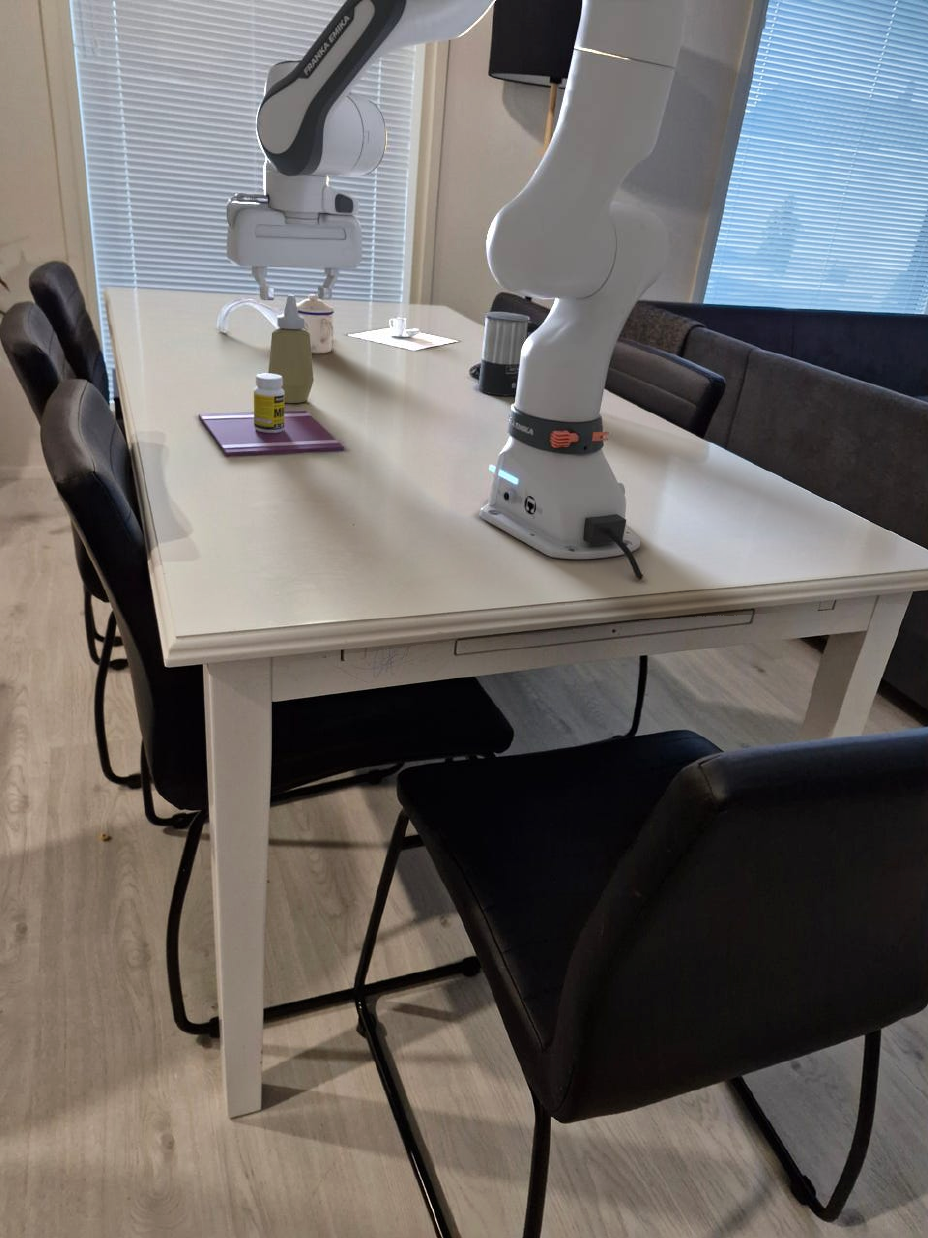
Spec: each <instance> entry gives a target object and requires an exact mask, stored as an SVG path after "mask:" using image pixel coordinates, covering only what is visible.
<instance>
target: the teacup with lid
mask: <svg viewBox="0 0 928 1238" xmlns="http://www.w3.org/2000/svg"><path fill="white" fill-rule="evenodd" d="M296 305H297V310H298V315H299V316H301V317H304V318H305V327H304V328H303V329H305V330H306V331H308V332H309V333H310V342H311V354H327V353H330V352H331V351H332V349H333V337H334V326H333V322H334V321H333V319H334V317H333V315H334V313H335V311H334V307H332V306H330V305H328V304H326V303H324V301H323V300H321V299H319V298H318V294H314V293H310V294H308V297H307V298H306V299H303V300H302V301H300V302H296Z"/></svg>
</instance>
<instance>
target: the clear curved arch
mask: <svg viewBox="0 0 928 1238" xmlns="http://www.w3.org/2000/svg"><path fill="white" fill-rule="evenodd" d="M243 306H249V307H252V308H255V309H256V310H258V311H259V312H260V313H261V314H262V315H263V316H264V317H265V318H266V319H267V320H268V322H270V324H272V325H273V326H274V327H275V328H278V327H279V326H277V317H278V316H279V315H284V310H285V309H281V308H276V307H272V306H270V305H267V304H265V303H263V302H260V301H257V300H255V299H252V298H237V299H234V300H231V301H229V302H228V303H227V304H225V305H224V306H223V308H222V309H221V311H220V312H219V314H218V318H217V324H216V326H217V329H218V330H220V331H222V332H227V331H228V321H229V317H230V315H231V313H232V312H233V311H234V310H236V309H237V308H239V307H243Z"/></svg>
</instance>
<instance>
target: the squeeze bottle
mask: <svg viewBox="0 0 928 1238" xmlns="http://www.w3.org/2000/svg"><path fill="white" fill-rule="evenodd" d="M296 303H297V300H296V295H295V294H292V293H287V296H286V301H285V305H284V309H283V310H284V315H279V316H278V317H277V326H279V327H278V328H276V327H275V328H274V329H272V331H271V339H270V340H271V341H270V352H269V363H268V374H277V375H280V376H282V383H283V384H282V387H281V388H282V389H283V390H284V393H285V403H287V404H300V403H305V402H307V401H308V399H309V396H310V393H311V391H312V390H311V389H312V387H313V384H314V368H313V356H312V354H313V353H311V342H310V333H309V332H308V331H306V330H305V329H303V328H304V327H305V318H304V317H301V316H299V315H298V310H297V305H296Z"/></svg>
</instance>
